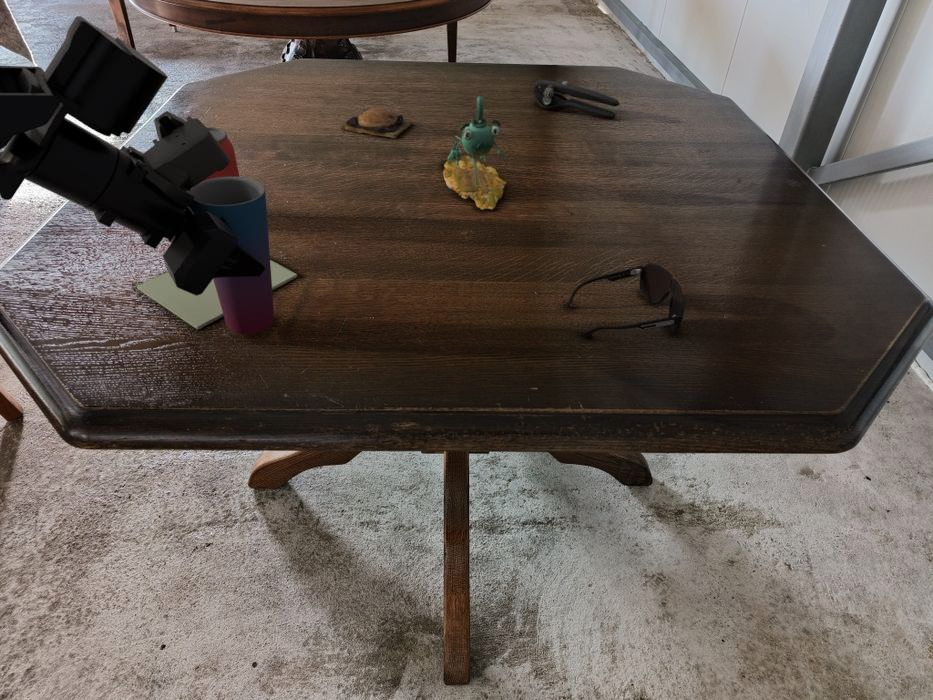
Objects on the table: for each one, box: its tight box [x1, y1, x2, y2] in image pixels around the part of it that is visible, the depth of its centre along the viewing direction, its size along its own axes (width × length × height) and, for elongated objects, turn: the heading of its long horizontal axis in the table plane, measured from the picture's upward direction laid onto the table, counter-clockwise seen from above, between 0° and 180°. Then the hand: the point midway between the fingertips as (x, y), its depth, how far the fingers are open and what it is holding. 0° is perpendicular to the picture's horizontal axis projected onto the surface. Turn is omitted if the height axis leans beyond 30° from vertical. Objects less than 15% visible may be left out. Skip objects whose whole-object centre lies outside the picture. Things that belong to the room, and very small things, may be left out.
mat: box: [136, 259, 298, 331], centre depth 75 cm, size 14×12×1 cm
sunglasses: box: [567, 262, 686, 339], centre depth 72 cm, size 10×12×5 cm
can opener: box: [533, 79, 620, 120], centre depth 125 cm, size 18×7×6 cm, turn 67°
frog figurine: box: [442, 95, 507, 211], centre depth 95 cm, size 10×18×15 cm, turn 13°
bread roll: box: [344, 106, 412, 139], centre depth 115 cm, size 11×8×4 cm
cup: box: [190, 176, 275, 335], centre depth 64 cm, size 7×7×15 cm
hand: (251, 257), depth 64 cm, fingers closed on cup, 6 cm apart
